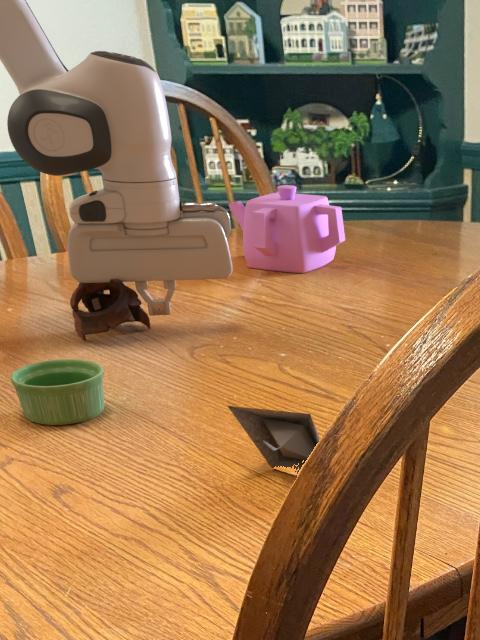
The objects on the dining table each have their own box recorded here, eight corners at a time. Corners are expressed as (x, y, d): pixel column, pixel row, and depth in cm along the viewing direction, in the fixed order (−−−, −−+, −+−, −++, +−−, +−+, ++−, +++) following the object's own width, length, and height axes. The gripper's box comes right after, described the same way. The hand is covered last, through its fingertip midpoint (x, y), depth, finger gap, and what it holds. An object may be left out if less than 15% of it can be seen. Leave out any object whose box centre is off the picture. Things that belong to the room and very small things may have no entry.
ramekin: (102, 427, 93) (94, 385, 90) (10, 430, 92) (-1, 387, 89) (116, 396, 100) (109, 357, 98) (31, 399, 99) (21, 359, 97)
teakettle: (259, 277, 148) (252, 195, 141) (230, 256, 161) (222, 180, 154) (355, 269, 155) (353, 191, 148) (321, 249, 167) (317, 176, 161)
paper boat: (369, 448, 87) (350, 462, 78) (332, 501, 89) (310, 520, 80) (266, 372, 86) (235, 377, 77) (230, 427, 88) (196, 438, 79)
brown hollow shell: (171, 335, 122) (146, 288, 114) (116, 378, 119) (88, 333, 112) (117, 296, 126) (91, 248, 119) (64, 337, 124) (33, 291, 116)
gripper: (227, 197, 118) (238, 305, 126) (62, 199, 114) (83, 310, 122) (228, 206, 113) (240, 317, 121) (55, 208, 109) (78, 323, 117)
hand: (160, 314), depth 121 cm, fingers closed
